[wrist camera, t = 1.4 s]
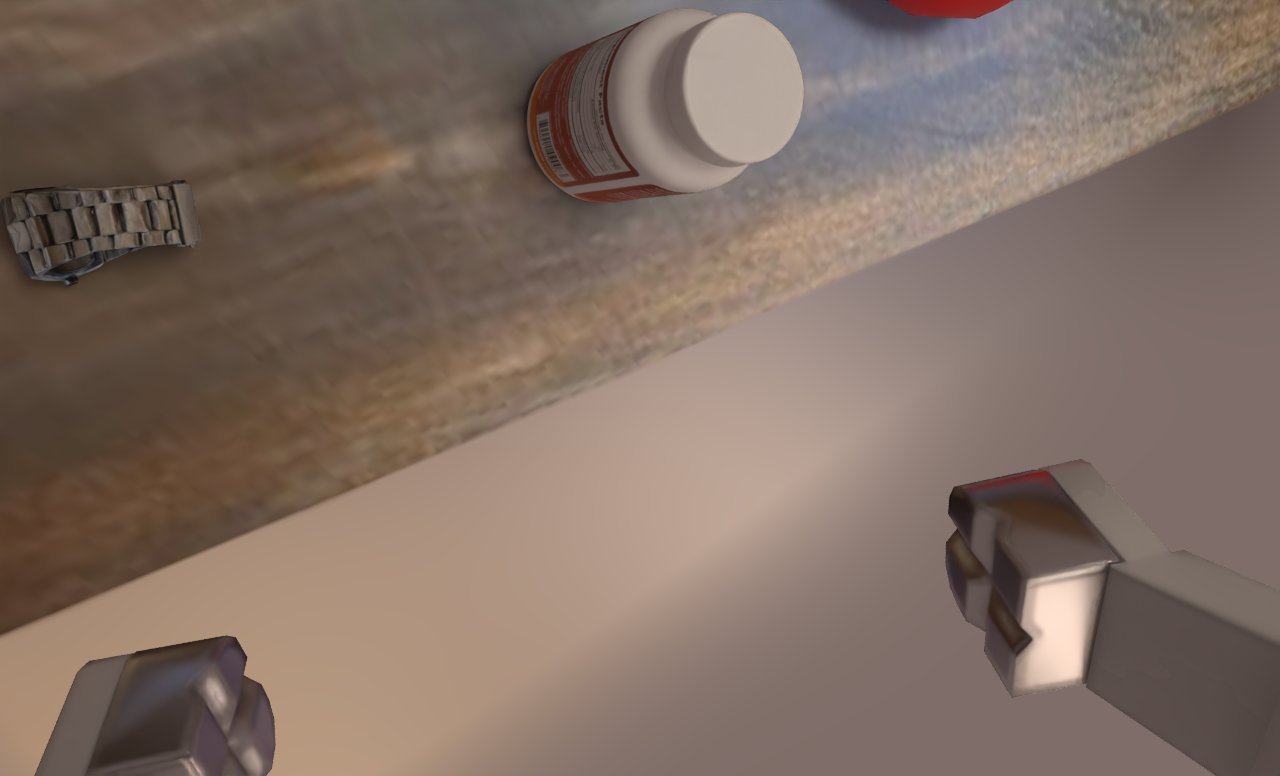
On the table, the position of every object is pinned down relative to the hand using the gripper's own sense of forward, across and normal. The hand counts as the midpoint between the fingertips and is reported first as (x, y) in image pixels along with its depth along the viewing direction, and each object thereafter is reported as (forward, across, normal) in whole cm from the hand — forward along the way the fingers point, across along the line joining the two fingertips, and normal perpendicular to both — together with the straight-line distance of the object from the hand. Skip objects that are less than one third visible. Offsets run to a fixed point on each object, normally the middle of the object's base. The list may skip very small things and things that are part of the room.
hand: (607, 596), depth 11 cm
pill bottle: (+32, -2, +6) cm, 32 cm away
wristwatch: (+25, +14, +4) cm, 29 cm away
